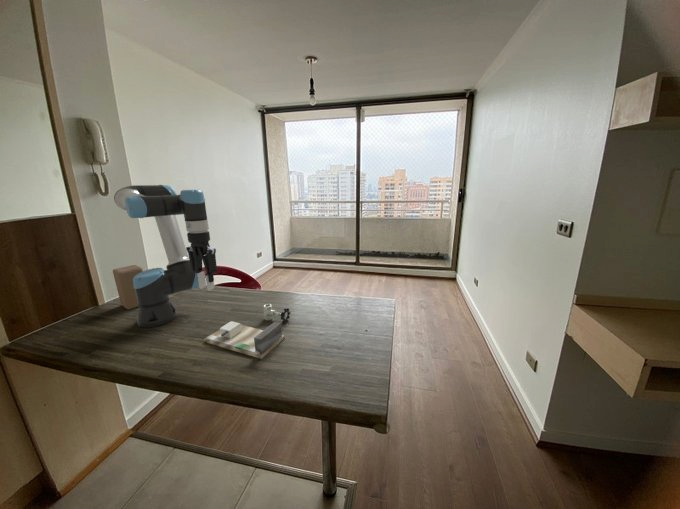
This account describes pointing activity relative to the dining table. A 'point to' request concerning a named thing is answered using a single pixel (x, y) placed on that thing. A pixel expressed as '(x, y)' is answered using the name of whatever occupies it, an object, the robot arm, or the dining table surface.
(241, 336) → the board
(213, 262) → the robot arm
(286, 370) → the dining table surface
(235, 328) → the white rectangular block
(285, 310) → the valve
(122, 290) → the wooden block
